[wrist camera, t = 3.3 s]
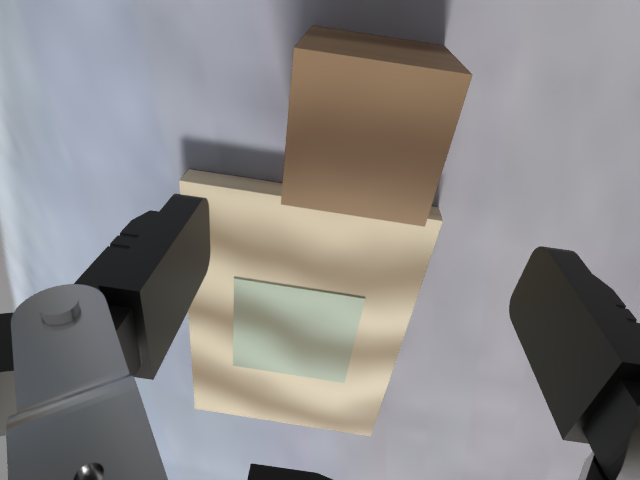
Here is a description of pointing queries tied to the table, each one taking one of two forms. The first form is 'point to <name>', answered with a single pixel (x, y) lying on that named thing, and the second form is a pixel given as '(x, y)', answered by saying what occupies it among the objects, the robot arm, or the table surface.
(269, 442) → the table surface
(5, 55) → the table surface
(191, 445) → the table surface
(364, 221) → the birch board
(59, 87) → the table surface
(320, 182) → the walnut block
